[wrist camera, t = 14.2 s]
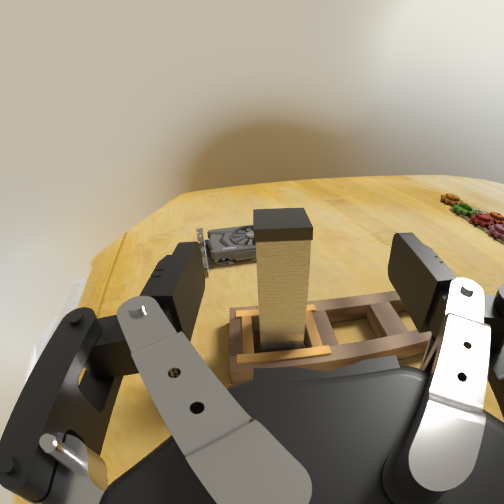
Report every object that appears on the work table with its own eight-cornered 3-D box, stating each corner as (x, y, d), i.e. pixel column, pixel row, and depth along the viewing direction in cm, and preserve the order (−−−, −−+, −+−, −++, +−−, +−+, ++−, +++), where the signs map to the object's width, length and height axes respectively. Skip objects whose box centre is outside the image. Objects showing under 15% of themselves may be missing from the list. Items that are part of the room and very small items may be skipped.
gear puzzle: (428, 200, 72) (429, 187, 70) (461, 200, 73) (462, 188, 71) (502, 247, 44) (507, 231, 42) (529, 241, 46) (533, 227, 44)
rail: (426, 297, 33) (431, 283, 32) (460, 341, 25) (467, 327, 24) (231, 321, 32) (229, 306, 31) (231, 383, 24) (229, 369, 23)
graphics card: (198, 260, 39) (195, 226, 50) (202, 282, 41) (198, 245, 52) (313, 245, 42) (288, 215, 52) (311, 266, 44) (287, 234, 54)
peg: (298, 331, 30) (303, 207, 24) (303, 360, 26) (313, 227, 20) (259, 333, 30) (253, 209, 24) (260, 362, 27) (253, 229, 20)
